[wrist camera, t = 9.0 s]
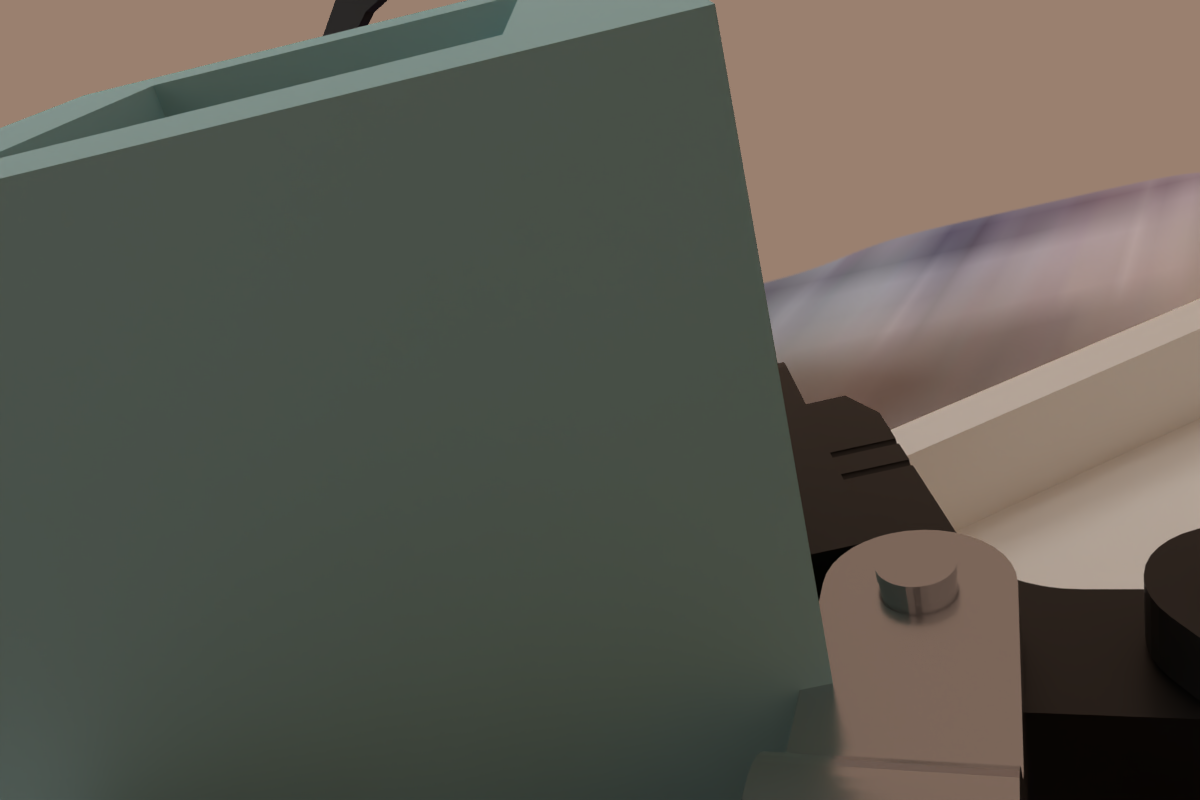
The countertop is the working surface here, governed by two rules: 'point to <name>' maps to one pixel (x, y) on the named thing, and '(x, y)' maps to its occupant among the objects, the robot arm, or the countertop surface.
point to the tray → (1076, 457)
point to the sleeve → (398, 424)
